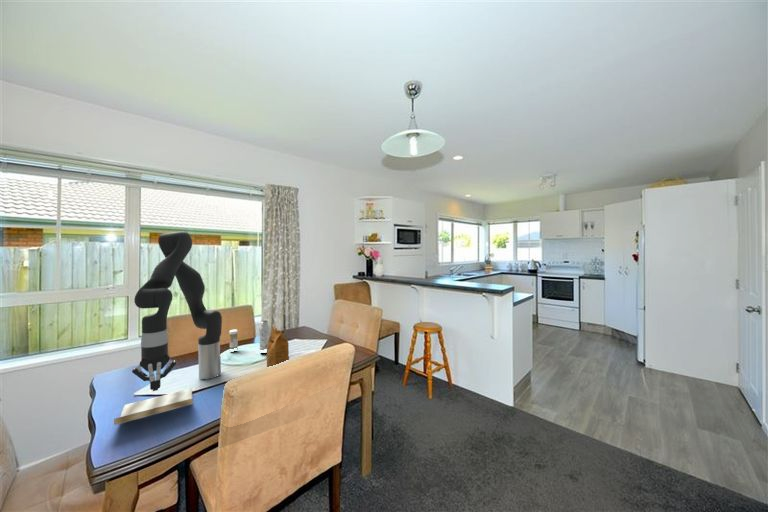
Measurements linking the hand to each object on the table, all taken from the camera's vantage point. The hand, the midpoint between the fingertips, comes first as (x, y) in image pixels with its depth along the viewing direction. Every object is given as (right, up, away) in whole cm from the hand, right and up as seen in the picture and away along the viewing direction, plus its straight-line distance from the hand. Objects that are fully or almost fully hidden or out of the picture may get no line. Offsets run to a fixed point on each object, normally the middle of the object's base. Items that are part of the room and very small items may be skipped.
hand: (155, 389), depth 102 cm
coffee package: (+27, -12, +47) cm, 55 cm away
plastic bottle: (+11, -11, +69) cm, 71 cm away
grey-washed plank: (-8, -12, +12) cm, 19 cm away
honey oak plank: (-1, -10, +2) cm, 10 cm away
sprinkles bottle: (-10, -11, +72) cm, 74 cm away
